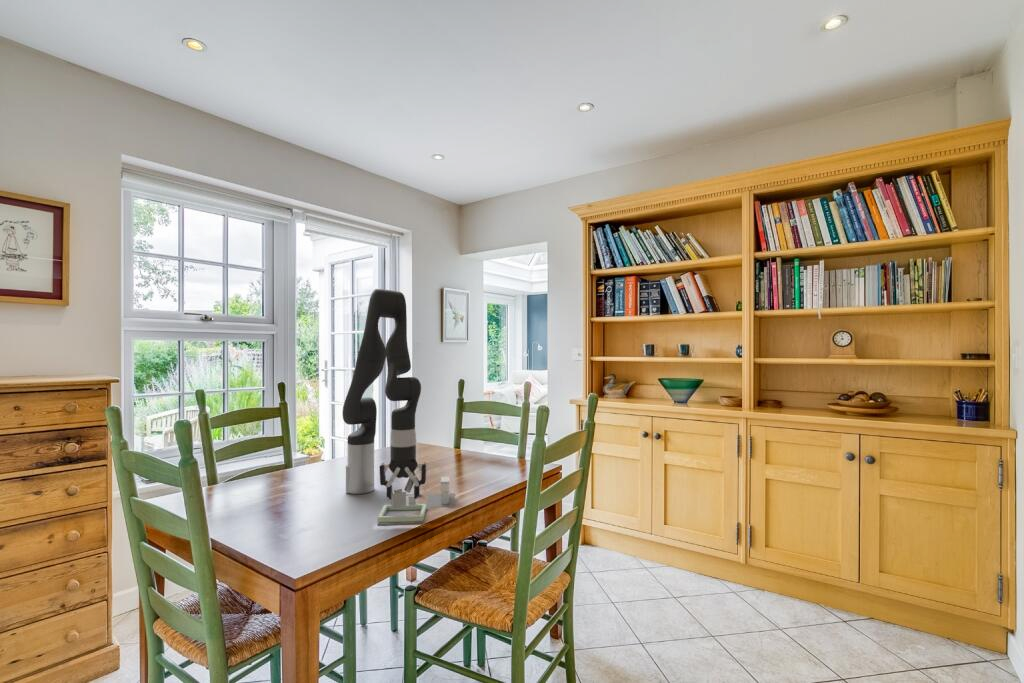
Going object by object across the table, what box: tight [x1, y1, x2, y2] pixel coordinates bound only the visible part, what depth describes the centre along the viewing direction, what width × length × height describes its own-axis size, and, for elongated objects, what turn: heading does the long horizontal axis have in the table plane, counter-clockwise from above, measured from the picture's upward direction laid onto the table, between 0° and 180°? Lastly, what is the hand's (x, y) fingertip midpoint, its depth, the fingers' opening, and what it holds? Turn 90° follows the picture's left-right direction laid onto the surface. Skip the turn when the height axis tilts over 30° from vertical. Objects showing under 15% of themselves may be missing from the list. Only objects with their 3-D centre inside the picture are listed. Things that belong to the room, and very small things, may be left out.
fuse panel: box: [406, 484, 456, 509], centre depth 161 cm, size 18×14×5 cm
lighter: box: [390, 477, 414, 508], centre depth 147 cm, size 7×2×8 cm, turn 124°
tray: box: [376, 503, 427, 527], centre depth 147 cm, size 13×11×2 cm
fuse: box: [440, 476, 451, 503], centre depth 161 cm, size 3×6×7 cm, turn 5°
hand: (403, 498), depth 147 cm, fingers closed on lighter, 7 cm apart
